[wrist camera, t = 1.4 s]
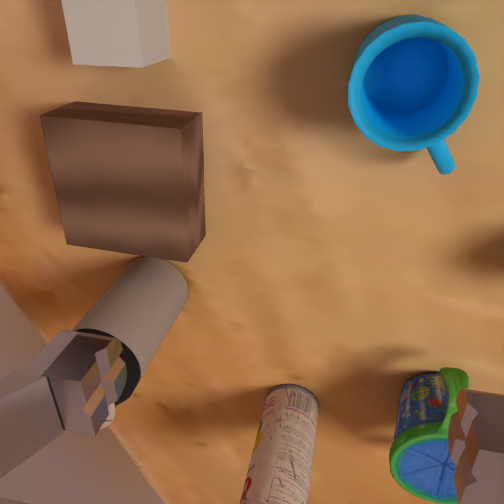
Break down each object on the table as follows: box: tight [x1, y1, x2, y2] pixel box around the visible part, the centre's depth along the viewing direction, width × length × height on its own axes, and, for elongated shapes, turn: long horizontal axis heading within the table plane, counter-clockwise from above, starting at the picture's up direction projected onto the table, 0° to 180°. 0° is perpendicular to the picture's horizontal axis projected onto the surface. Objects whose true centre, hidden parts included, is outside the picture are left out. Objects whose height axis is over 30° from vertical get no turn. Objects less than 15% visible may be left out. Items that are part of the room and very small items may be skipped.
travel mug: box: [72, 257, 188, 429], centre depth 46 cm, size 8×8×18 cm
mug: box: [348, 15, 479, 174], centre depth 34 cm, size 12×8×8 cm
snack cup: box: [389, 367, 469, 504], centre depth 48 cm, size 16×10×10 cm
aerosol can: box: [240, 384, 319, 504], centre depth 50 cm, size 7×7×20 cm
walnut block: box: [40, 102, 206, 262], centre depth 44 cm, size 13×13×6 cm
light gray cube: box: [61, 0, 171, 68], centre depth 37 cm, size 6×6×6 cm
